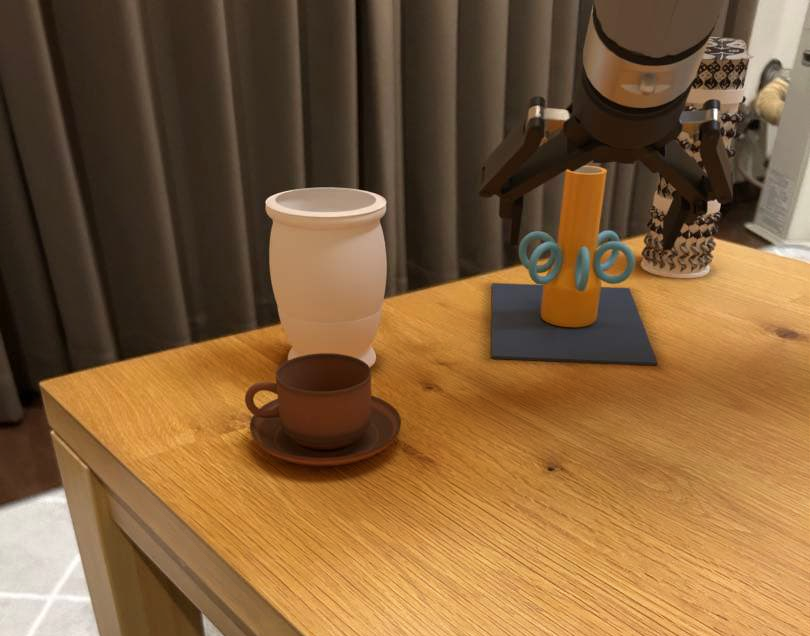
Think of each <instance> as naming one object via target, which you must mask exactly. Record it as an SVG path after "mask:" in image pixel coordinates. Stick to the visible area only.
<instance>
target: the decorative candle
mask: <svg viewBox="0 0 810 636" xmlns="http://www.w3.org/2000/svg"><path fill="white" fill-rule="evenodd" d="M754 57H755V56H754V55H752V54H750V52H749V50H748V46H747V44H746V42H745V41H744V40H743V39H740V38H733V37H721V36H711V37H710V39H709V42H708V44H707V47H706V50H705V52H704V55H703V58H702V60H701V63H700V65H699V68H698V71H697V73H696V76H695V78H694V81H693V85H692V87H691V90H690V93H689V95H688V98H687V100H686V103H685V106H684V108H683V111H702V107H703V104H704V103H705V102H706V101H708V100H711V99H717V100H719V101H720V132H721V136H722V139H723V142H724V145H725V148H726V151H727V154H728V157H729V159H732V158H733V157H734V156H736V154H737V150H736V149H735V148H733V146H732V145H731V144H732V141H735V140H736V139H738V138H740V137H741V136H742V132H741V131H740V129H738V127H736V128H735V125H736V126H739V125H740V124H742V123H744V121H745V116H744V115H743V114H742V113H741V112H739V113H738V110H739V107H740V105H742V104H743V103H745V102H746V100H747V98H746V96H745V91H746V86H745V84H746V83H745V82H746V78H747V73H748V69H749V63H750V59H753V58H754ZM683 111H682V112H683ZM675 141H676V142H677V143H678V144H679V145H680V146H681V147H682V148H683V149H684V150H685V151H686V152H687V153H688V154H689V155H690V156H691V158H692V159H693V160H694V161H695V162H696V163H697V164H698V165H699V166H700V167H701V168H702V169H703V170H704V171H705V172H706V170H705V168H704V165H703V162H702V159H701V157H700V146H694V145H693V140H692V139H690V138H689V134H688V133H686V132H681V133H680V135H679V136H678V137H677V138H676V139H675ZM730 164H731V167H732V168H733V164H732V162H730ZM658 174H659V173H658ZM676 191H677V190H676V189H675V188H674V187H673V186H672V185H671V184H669V183H668V182H667V181H666V180H665V179H664V178H663V177H662V176H661V175H660V174H659V175H658V181H657V187H656V191H655V192H654V196H653V202H652V205H651V206H650V208H649V209H648V214H649V215H650V216H651V217H652V218H649V219H648V221H647V222H646V227H647V228H648V229H649V230H650V231H649V232H647V234H646V235H645V236H644V237H643V243H644V245H645V246H644V247H643V249H642V251H641V255H642V257H643V259H642V261H641V262H640V267H641V269H643V270H644V271H646V272H648V273H649V274H651V275H656V276H660V277H664V278H672V279H696V278H702V277H704V276H707V275H708V274H709V273H710V269H711V265H710V264H711V263H712V262H713V259H714V255H713V254H712V252H713V251H714V250H715V247H717V242H716V241H715V238H714V237H713V236H716V235H717V234H718V232H719V230H720V227H719V226H718V225H717V224H716V223H718V222H720V221H721V219H722V217H723V214H722V212H721V211H720V209H721V205H722V204H720V203H718V202H717V200H711V201H708V212H707V213H706V214H705V215H703V216H698V218H697V220H696V221H695V222H693V223H684V225H683V227H682V229H681V231H680V233H679V235H678V237H677V239H676V241H675V243H674V245H673V248H672V250H663V221H664V219H665V217H666V214H667V212H668V210H669V207H670V205H671V203H672V200H673V198H674V196H675V194H676Z"/></svg>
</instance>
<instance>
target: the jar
mask: <svg viewBox="0 0 810 636" xmlns="http://www.w3.org/2000/svg"><path fill="white" fill-rule="evenodd" d="M386 212H387V200H386V198H385V197H383V196H382V195H380V194H378V193H375V192H372V191H368V190H362V189H358V188H357V189H356V188H347V187H307V188H305V187H304V188H297V189H290V190H286V191H281V192H278V193H276V194H273V195H271V196H269V197H268V198H266V200H265V213H266V214H267V216H268V217H269V218H270V219H271V220H272V225H271V228H270V229H271V230H270V237H269V247H268V249H269V250H268V251H269V255H268V257H269V260H268V263H269V274H270V280H271V287H272V292H273V296H274V299H275V302H276V305H277V312H278V317H279V321H280V325H281V327H282V330H283V333H284V335H285V337H286V339H287V341H288V343H289V344H290V346H292V347H291V348H290V350H289V352H288V355H287V361H288V360H291V359H293V358H296V357H300V356H304V355H309V354H319V353H333V354H342V355H348V356H352V357H355V358H357V359H360V360H362V361H363V362H365V363H366V364H367V365H368V366H369V367H370V368H372V367H373V366H374V365H375V363H376V360H377V355H376V352H375V349H374V348H373V347H372V344H374V343H373V342H374V340H375V338H376V336H377V333H378V331H379V328H380V324H381V318H382V313H383V312H382V311H383V303H384V299H385V294H386V287H387V277H388V275H387V273H388V268H387V267H388V266H387V265H388V263H387V262H388V261H387V249H386V243H385V236H384V231H383V227H382V225H381V219H382V218H383V217H384V216H385V214H386Z"/></svg>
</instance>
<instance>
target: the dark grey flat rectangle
mask: <svg viewBox="0 0 810 636" xmlns="http://www.w3.org/2000/svg"><path fill="white" fill-rule="evenodd" d="M491 293H492V295H491V351H490V352H491V355H490V357H491V358H490V359H494V360H515V361H517V360H518V361H540V362H541V361H543V362H561V363H563V362H564V363H565V362H566V363H585V364H586V363H587V364H588V363H589V364H610V365H611V364H612V365H631V366H632V365H633V366H634V365H635V366H653V367H654V366H658V365H659V362H658V360H657V358H656V354H655V352H654V349H653V346H652V344H651V341H650V339H649V336H648V334H647V331H646V328H645V326H644V323H643V321H642V317H641V316H640V312H639V310H638V308H637V304H636V301H635V300H634V298H633V294H632V292H631V289H630V287H610V286H607V287H606V286H601V291H600V298H599V305H598V313H597V319H596V321H595V322H594V323H593V324H591V325H588V326H584V327H561V326H556V325H553V324H550V323H547V322H546V321H544V320H543V319H542V318H541V304H542V294H543V285H541V284H530V283H529V284H527V283H503V282H501V283H500V282H492V285H491Z"/></svg>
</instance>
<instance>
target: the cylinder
mask: <svg viewBox="0 0 810 636" xmlns="http://www.w3.org/2000/svg"><path fill="white" fill-rule="evenodd" d="M607 172H608V170H607V169H606V168H604V167H600V166H595V165H584V166H582V167H581V168H579V169H577V170H575V171H573V172H572V171H570V170H568V169H567V170H566V171H564V179H563V187H562V197H561V204H560V205H561V206H560V215H559V223H558V233H557V242H556V240H555V238H553V236H551V235H550V234H549V233H547V232H545V231H539V230H538V231H532V232H530V233H528V234H526V235H525V236H524V237H523V238H522V239H521V241H520V243H519V245H518V258H519V261H520V262H521V264H522V266H523V267H524V268H525V269H526V270H528V274H529V277H530V279H531V281H532V282H534V283H535V284H536V285H543V294H542V304H541V318H542V319H543V320H544V321H546V322H547V323H550V324H553V325H556V326H561V327H584V326H588V325H591V324H593V323H594V322H595V321H596V319H597V313H598V305H599V298H600V291H601V287H602V282H603V283H607V284H610V285H617V284H621V283H623V282H625V281H626V280H628V278H630V277H631V276H632V274H633V272H634V270H635V266H636V258H635V254H634V253H633V251H632V249H631V248H630V246H628V244H625V242H621V241H620V238H619V235H618V234H617V233H616V232H615V231H613V230H609V229H607V230H603V231H601V232H600V225H601V218H602V211H603V203H604V196H605V187H606V180H607V174H608V173H607ZM606 239H609V240H610V241H606V242H605V243H603V244H602V245H600V244H601V243H602V242H603V241H604V240H606ZM535 240H541V241H543V242H542V243H541V244H539V245H538V246H537V247H536V248H535V249H534V250H533V252H532V253H531V256H530V258H528V256H527V255H528V254H527V247H528V245H530V243H531V242H533V241H535ZM599 245H600V246H599ZM548 250H549V251H550V255H549V256H550V257H549V258H548V260H547V261H546V262H545V263H543V264H538V261H539V259H540V257H541V255H543V253H544V252H546V251H548ZM610 250H611V253H610V255H609V257H608V258H607V259H606V261H605V262H603V263H601V261H602V258H603V256H604V254H605V253H606V252H608V251H610ZM620 252H621V253H622V254H623V256H624V257H625V259H626V267H625V268H624V270H623V271H622V273H619V274H618V275H610V274H608V273H606V271H608V270H609V269H610V268H611V267H612V266H613V265H614V264H615V263H616V261H617V259H618V257H619V254H620ZM546 272H547V273H546ZM542 273H543V274H544V273H546V274H545V275H544V276H541V275H539V274H542Z"/></svg>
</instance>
